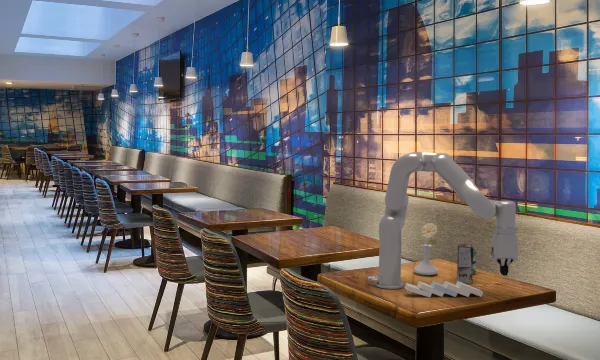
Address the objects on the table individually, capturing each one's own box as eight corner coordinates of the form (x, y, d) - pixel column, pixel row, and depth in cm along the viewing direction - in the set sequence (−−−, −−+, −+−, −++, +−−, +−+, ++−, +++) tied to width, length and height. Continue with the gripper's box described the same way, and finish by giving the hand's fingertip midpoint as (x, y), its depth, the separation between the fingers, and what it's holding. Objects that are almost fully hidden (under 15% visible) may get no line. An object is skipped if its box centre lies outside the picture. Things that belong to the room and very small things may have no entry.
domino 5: (481, 297, 243) (459, 288, 242) (477, 293, 248) (455, 285, 247) (483, 292, 242) (461, 283, 242) (478, 289, 247) (457, 280, 247)
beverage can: (472, 276, 278) (472, 251, 277) (455, 273, 282) (456, 248, 281) (478, 273, 284) (479, 248, 283) (462, 270, 289) (462, 246, 288)
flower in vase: (408, 272, 284) (410, 220, 282) (428, 270, 288) (429, 219, 286) (425, 278, 272) (427, 224, 270) (445, 276, 277) (447, 223, 275)
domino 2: (442, 297, 242) (420, 288, 241) (438, 293, 247) (416, 285, 246) (444, 292, 241) (421, 283, 241) (440, 289, 246) (418, 280, 246)
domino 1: (430, 297, 241) (407, 290, 241) (426, 294, 246) (404, 287, 246) (431, 292, 241) (408, 286, 240) (428, 289, 246) (405, 282, 245)
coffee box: (472, 283, 264) (473, 248, 262) (457, 282, 265) (458, 247, 264) (470, 278, 273) (472, 244, 271) (456, 277, 274) (457, 243, 273)
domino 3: (455, 297, 242) (433, 288, 241) (451, 293, 247) (430, 285, 246) (457, 292, 242) (435, 283, 241) (453, 289, 247) (432, 280, 246)
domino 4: (468, 297, 242) (446, 288, 241) (464, 293, 247) (442, 285, 246) (470, 292, 242) (448, 283, 241) (466, 289, 247) (444, 280, 246)
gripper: (519, 229, 247) (518, 272, 249) (484, 229, 247) (483, 272, 248) (527, 232, 240) (525, 276, 241) (490, 232, 239) (489, 277, 241)
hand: (504, 274), depth 245 cm, fingers closed
